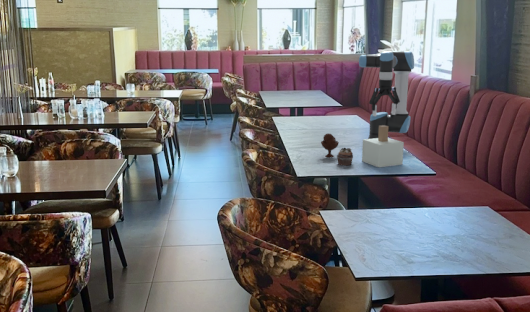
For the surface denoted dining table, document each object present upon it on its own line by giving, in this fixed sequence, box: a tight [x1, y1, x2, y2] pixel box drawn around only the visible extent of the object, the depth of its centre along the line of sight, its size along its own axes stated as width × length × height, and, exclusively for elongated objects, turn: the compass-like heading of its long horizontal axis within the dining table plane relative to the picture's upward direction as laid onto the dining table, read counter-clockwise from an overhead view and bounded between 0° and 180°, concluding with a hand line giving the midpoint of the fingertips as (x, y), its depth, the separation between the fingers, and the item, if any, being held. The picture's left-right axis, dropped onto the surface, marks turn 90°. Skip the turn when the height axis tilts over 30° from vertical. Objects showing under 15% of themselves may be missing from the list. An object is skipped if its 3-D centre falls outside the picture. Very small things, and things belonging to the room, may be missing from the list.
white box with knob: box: [361, 125, 405, 168], centre depth 327 cm, size 17×17×22 cm
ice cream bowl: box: [320, 133, 339, 158], centre depth 345 cm, size 11×11×15 cm
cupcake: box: [336, 147, 354, 167], centre depth 326 cm, size 10×10×10 cm
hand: (384, 115), depth 323 cm, fingers open, 13 cm apart
